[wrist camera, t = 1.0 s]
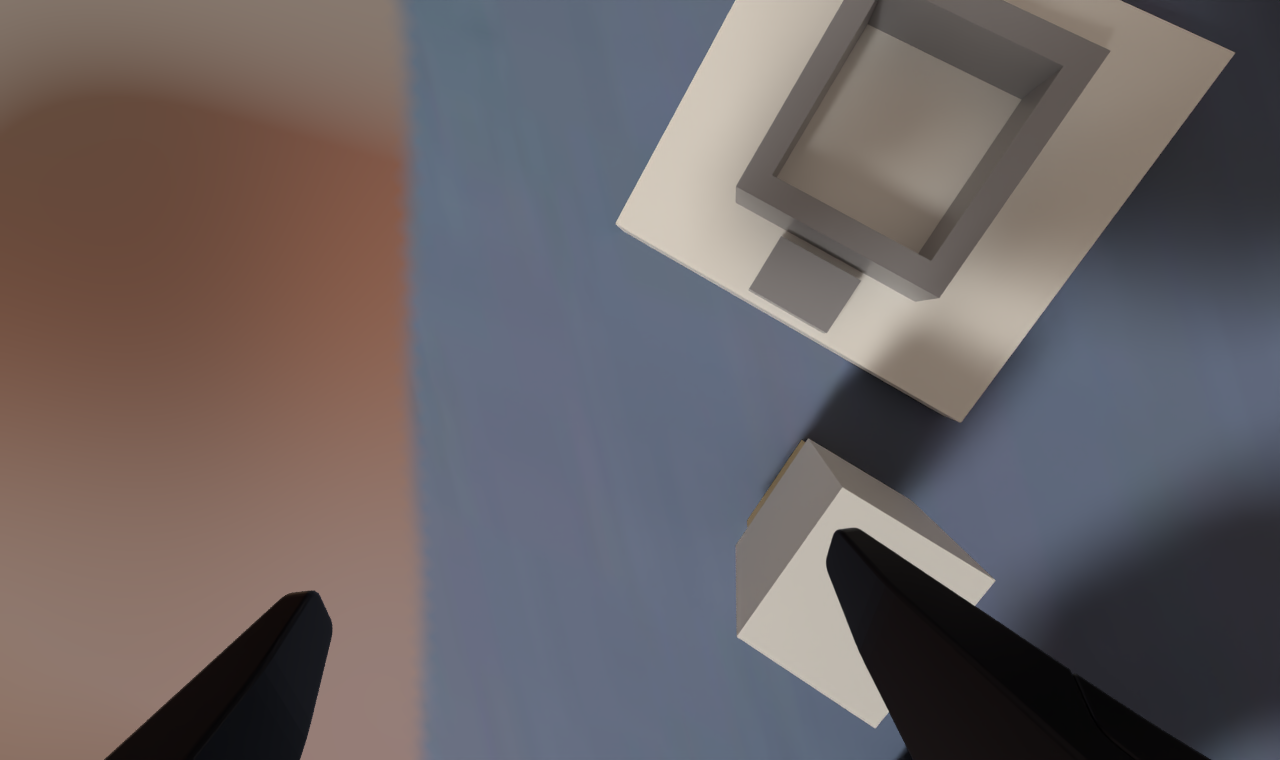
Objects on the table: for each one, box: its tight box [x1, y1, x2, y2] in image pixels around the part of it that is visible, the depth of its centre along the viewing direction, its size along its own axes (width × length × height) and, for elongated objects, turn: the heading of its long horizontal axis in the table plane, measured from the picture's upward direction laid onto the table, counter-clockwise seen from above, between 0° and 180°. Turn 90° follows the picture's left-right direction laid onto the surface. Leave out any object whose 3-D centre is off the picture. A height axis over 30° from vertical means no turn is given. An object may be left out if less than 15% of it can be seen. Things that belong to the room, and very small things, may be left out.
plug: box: [736, 438, 996, 728], centre depth 16 cm, size 4×5×8 cm
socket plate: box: [616, 0, 1235, 423], centre depth 16 cm, size 14×13×4 cm
